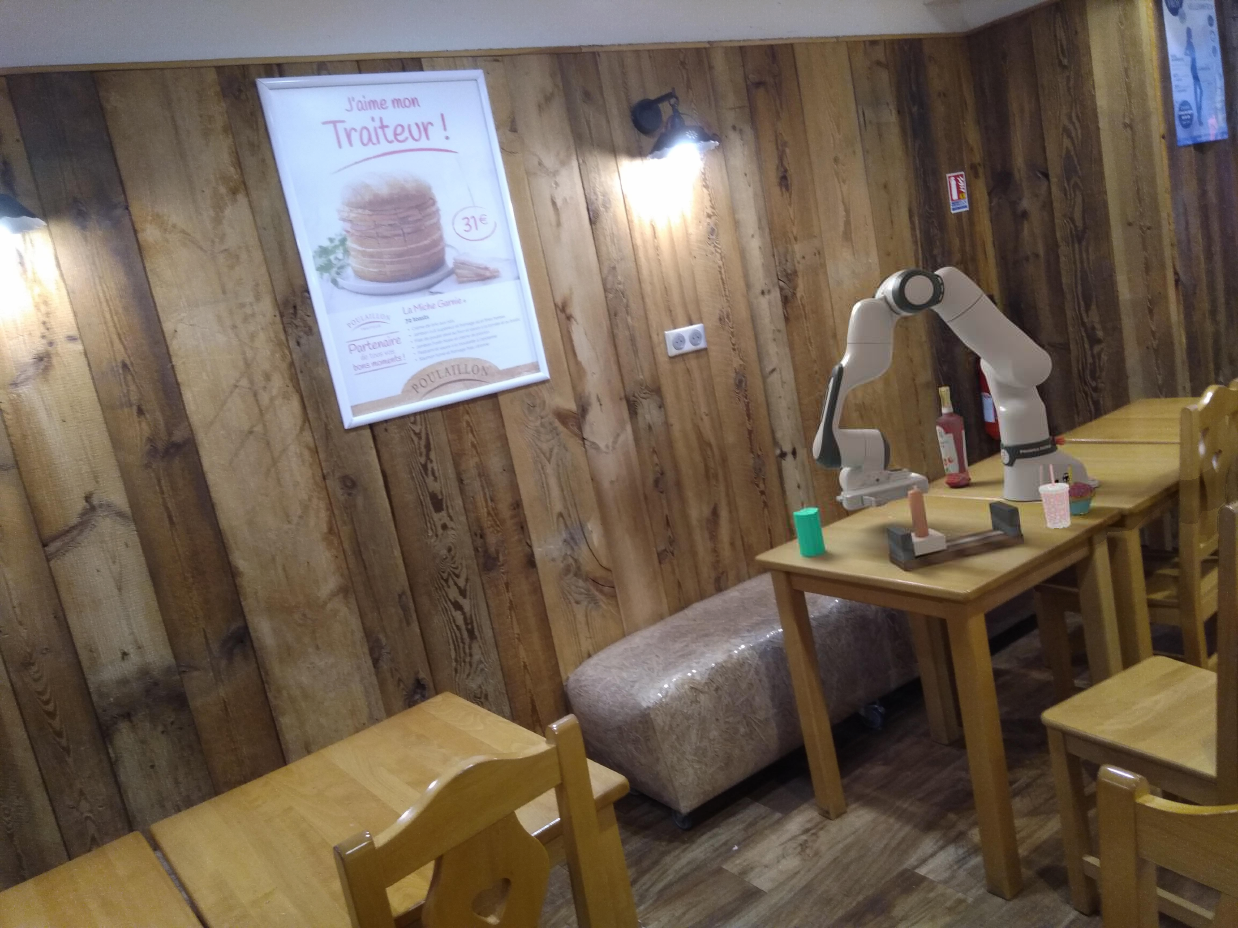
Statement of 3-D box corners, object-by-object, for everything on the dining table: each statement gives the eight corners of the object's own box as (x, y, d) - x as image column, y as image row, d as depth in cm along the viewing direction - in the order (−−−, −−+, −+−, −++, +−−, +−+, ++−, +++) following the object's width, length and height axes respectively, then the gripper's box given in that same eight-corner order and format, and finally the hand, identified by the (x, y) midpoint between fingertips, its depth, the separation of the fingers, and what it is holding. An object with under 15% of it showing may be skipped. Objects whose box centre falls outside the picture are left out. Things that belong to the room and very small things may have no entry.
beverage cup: (1059, 519, 204) (1051, 460, 202) (1080, 523, 198) (1072, 462, 196) (1037, 526, 202) (1029, 466, 200) (1058, 531, 197) (1050, 469, 194)
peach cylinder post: (932, 541, 200) (923, 484, 198) (946, 548, 193) (937, 490, 191) (902, 548, 199) (892, 491, 197) (915, 555, 192) (905, 497, 190)
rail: (1005, 534, 202) (1000, 500, 200) (1024, 542, 194) (1019, 507, 192) (890, 561, 200) (884, 527, 199) (904, 571, 192) (898, 535, 191)
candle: (823, 546, 222) (815, 500, 220) (827, 553, 216) (818, 505, 214) (799, 551, 222) (791, 504, 220) (802, 558, 216) (793, 510, 215)
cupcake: (1096, 516, 201) (1089, 464, 199) (1054, 518, 206) (1047, 468, 204) (1099, 505, 208) (1092, 455, 206) (1058, 508, 213) (1052, 459, 211)
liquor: (978, 484, 249) (963, 385, 244) (954, 490, 247) (939, 391, 243) (962, 480, 256) (948, 384, 252) (939, 486, 255) (924, 390, 250)
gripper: (831, 485, 218) (851, 494, 204) (912, 466, 219) (936, 475, 205) (835, 510, 219) (855, 521, 205) (916, 491, 220) (941, 501, 206)
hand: (897, 498), depth 205 cm, fingers open, 8 cm apart
